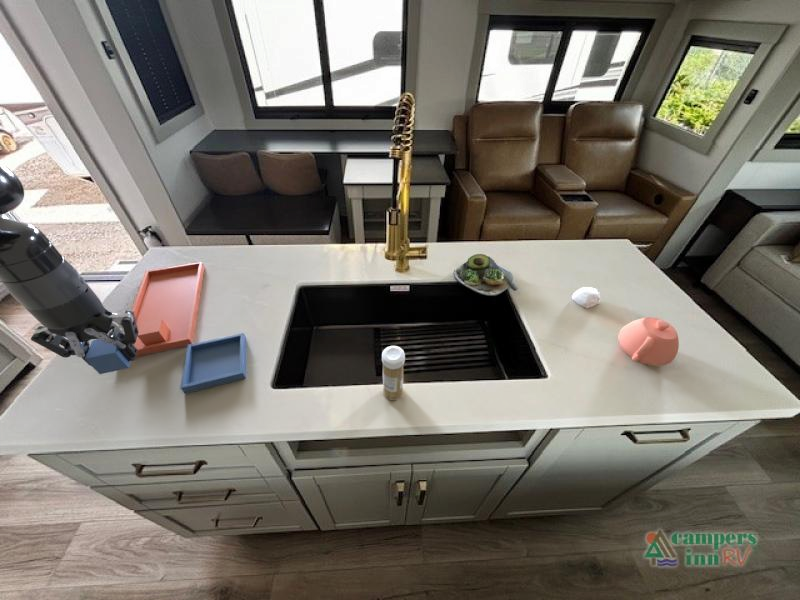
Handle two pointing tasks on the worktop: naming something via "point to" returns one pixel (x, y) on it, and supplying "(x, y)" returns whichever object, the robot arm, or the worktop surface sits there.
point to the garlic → (587, 297)
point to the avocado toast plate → (484, 276)
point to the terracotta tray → (169, 304)
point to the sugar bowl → (649, 341)
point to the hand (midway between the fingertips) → (116, 360)
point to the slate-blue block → (105, 357)
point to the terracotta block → (153, 332)
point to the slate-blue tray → (214, 363)
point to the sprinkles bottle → (393, 372)
